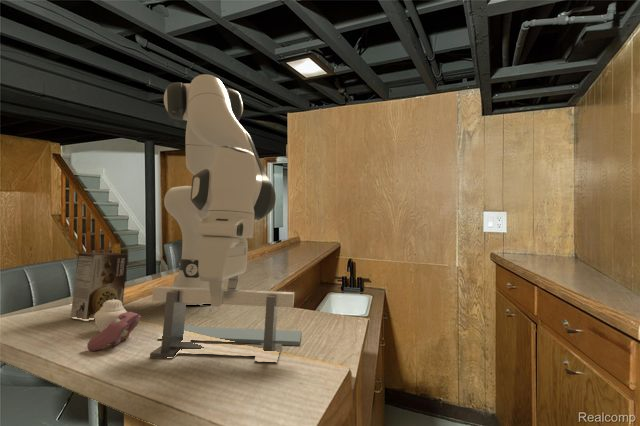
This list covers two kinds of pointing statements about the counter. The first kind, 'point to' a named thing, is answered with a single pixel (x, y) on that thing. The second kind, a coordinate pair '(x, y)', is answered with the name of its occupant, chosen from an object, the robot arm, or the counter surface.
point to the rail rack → (173, 344)
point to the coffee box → (98, 282)
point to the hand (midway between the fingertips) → (224, 301)
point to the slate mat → (247, 335)
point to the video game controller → (115, 331)
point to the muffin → (108, 313)
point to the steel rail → (225, 296)
